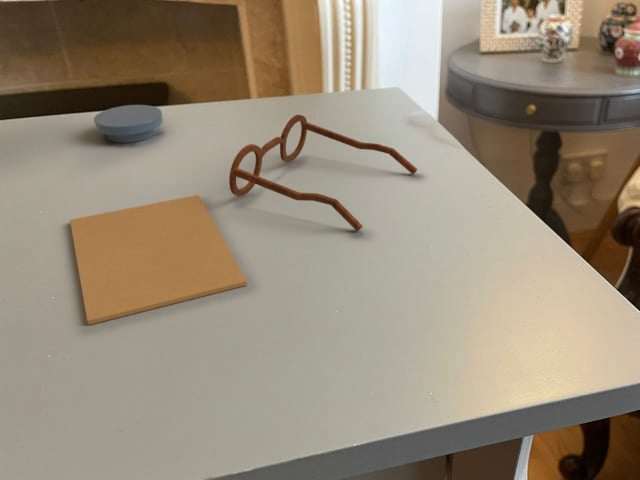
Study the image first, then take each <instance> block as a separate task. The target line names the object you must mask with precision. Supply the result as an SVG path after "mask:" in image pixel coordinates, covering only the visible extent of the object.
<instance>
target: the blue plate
mask: <svg viewBox="0 0 640 480" xmlns="http://www.w3.org/2000/svg"><path fill="white" fill-rule="evenodd" d="M93 123H94V127H95V130H96V131H97V132H98V133H99V134H103V135H107V138H108V140H110V141H111V142H115V143H121V144H123V143H124V144H125V143H128V144H129V143H136V142H141V141H145V140H148V139H150V138H152V137H154V136H155V135H156V134H157V128H159V127H160V126H162V124H163V123H164V117H163V112H162V110H161V108H159V107H158V106H157V107H156V106H154V105H148V104H127V105H121V106H116V107H111V108H108V109H105V110H103V111H101V112H99V113H97V114H96V115H95V116H94V118H93Z"/></svg>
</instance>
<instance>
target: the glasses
mask: <svg viewBox="0 0 640 480" xmlns="http://www.w3.org/2000/svg"><path fill="white" fill-rule="evenodd" d="M299 122H300V126H301V130H300V137H299V141H298V144H297V146H296V148H295V149H294V150H293V151H292V153H290V154H289V155H288V154H287V140H288V137H289V134H290V132H291V130H292V128H293V127H294V126H295V124H297V123H299ZM308 131H309V132H312V133H315V134H318V135H321V136H322V137H326V138H328V139H331V140H333V141H336V142H339V143H341V144H344V145H347V146H350V147H353V148H355V149H357V150H358V149H359V150H368V151H376V152H380V153H384V154H387V155H389V156H390V157H392V158H393V159H394V160H395V161H396V162H397V163H399V164H400V165H401V166H402V167H403V168H404V169H406V170H407V171H408V172H409V173H410V174H411V175H415V173H417V172H418V168H417V167H416V166H415V165H413V164H412V163H411V162H410V161H409V160H407V159H406V158H405V157H404V156H403V155H402V154H400V153H399V152H398V151H397V150H396V149H395V148H392V147H389V146H386V145H382V144H379V143H372V142H363V141H359V140H356V139H354V138H350V137H348V136H345V135H343V134H340V133H338V132H334V131H333V130H332V131H331V130H329V129H326V128H323V127H321V126H319V125H315V124H312V123H310V122H308V121H307V118H306V117H305V116H304V115H302V114H295V115H294V116H292V117H291V118H290V119H289V120H288V122H287V123H286V125H285V127H284V128H283V130H282V132H281V135H280V136H276V137H274V138H273V139H271V140H269V141H268V142H266V143H265V144H264V145H262V147H260V146H259V145H257V144H254V143H250V144H247V145H245V146H243V147H242V148H241V149H240V150H239V151H238V153H237V154H236V155H235V157H234V159H233V161H232V164H231V167H230V171H229V178H228V182H229V183H228V184H229V190H230V193H232V194H233V195H234V196H237V197H244V196H246V195H248V194H249V193H250V191H252V190H253V188H254V187H255V186H256V185H258V186H259V187H262V188H265V189H267V190H269V191H272V192H275V193H277V194H280V195H282V196H285V197H287V198H289V199H292V200H294V201H306V202H308V201H309V202H311V201H312V202H316V203H322V204H325V205H329V206H331V207H332V208H333V209H334V210H335V211H336V213H338V214H339V215H340V216H341V217H342V218H343V219H344V220H345V221H346V222H347V223H348V224H349V225H350V226H351V227H352V228H353V229H354V230H355V231H356V232H359V231H360V230H361V229H362V228H363V227H364V225H363V224H362V223H360V222H359V220H358V219H357V218H355V216H354V215H353V214H351V212H350V211H348V209H347V208H346V207H345V206H344V205H343V204H342V203H341V202H340V201H339V200H337V199H336V198H333V197H330V196H327V195H324V194H321V193H317V192H315V193H314V192H299V191H296V190H294V189H291V188H289V187H286V186H284V185H281V184H279V183H276V182H274V181H271V180H268V179H266V178H263V177H261V176H260V174H261V171H262V164H263V157H264V156H265V155H266V154H267V153H268V152H269V151H271V150H272V149H274V148H275V147H276V146H278V145H279V154H280V159H281V160H282V161H284V162H286V163H291V162H293V161H294V160H296V158H297V157H298V156H299V155H300V154H301V152H302V150H303V148H304V145H305V142H306V139H307V132H308ZM252 152H253V153H254V155H255V164H254V170H253V173H251V172H248V171H246V170H243V169H241V168H239V167H240V165H241V163H242V161H243V160H244V158H245V157H246V156H247V155H248V154H250V153H252ZM237 178H240V179H242V180H244V181H247V184H246V185H244V186H243V187H242V188H239V187H238V184H237Z"/></svg>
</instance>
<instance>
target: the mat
mask: <svg viewBox="0 0 640 480" xmlns="http://www.w3.org/2000/svg"><path fill="white" fill-rule="evenodd" d="M69 224H70V228H71V235H72V242H73V247H74V252H75V253H74V254H75V259H76V266H77V272H78V277H79V282H80V289H81V294H82V300H83V303H84V304H83V306H84V311H85V316H86V323H87V324H88V326H89V325H90V326H91V325H94V324H98V323H102V322H106V321H109V320H113V319H119V318H122V317H126V316H130V315H133V314H138V313H142V312H147V311H151V310H154V309H157V308H162V307H165V306H170V305H174V304H178V303H182V302H186V301H190V300H193V299H197V298H201V297H206V296H209V295H214V294H217V293H221V292H226V291H230V290H234V289H238V288H241V287H246V286H247V285H248V281H247V279H246V277H245V276H244V274H243V271H242V270H241V268H240V266H239V265H238V263H237V261H236V260H235V257H234V256H233V254H232V252H231V250H230V249H229V246H228V245H227V243H226V242H225V240H224V238H223V236H222V235H221V233H220V231H219V229H218V227H217V225H216V224H215V222H214V220H213V218H212V216H211V215H210V213H209V211H208V209H207V208H206V206H205V203H204V202H203V201H202V198H201V197H200V195H199V194H195V195H189V196H184V197H180V198H174V199H169V200H164V201H159V202H154V203H148V204H144V205H139V206H134V207H128V208H123V209H118V210H114V211H113V210H112V211H109V212H102V213H97V214H92V215H88V216H83V217H76V218H72V219H69Z"/></svg>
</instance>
